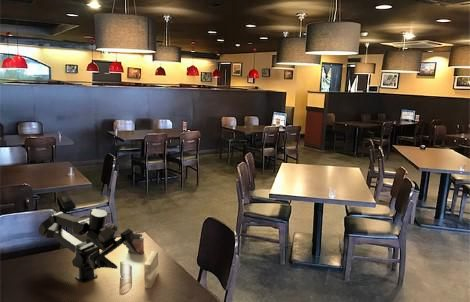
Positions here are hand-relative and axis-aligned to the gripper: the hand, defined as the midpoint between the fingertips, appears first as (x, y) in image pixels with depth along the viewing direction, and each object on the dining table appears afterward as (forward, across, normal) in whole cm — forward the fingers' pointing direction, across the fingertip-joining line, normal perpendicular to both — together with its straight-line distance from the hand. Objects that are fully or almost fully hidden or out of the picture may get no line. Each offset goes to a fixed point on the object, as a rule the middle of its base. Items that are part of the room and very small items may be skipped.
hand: (127, 259), depth 136 cm
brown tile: (+3, +8, +18) cm, 20 cm away
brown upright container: (-19, +19, +29) cm, 40 cm away
